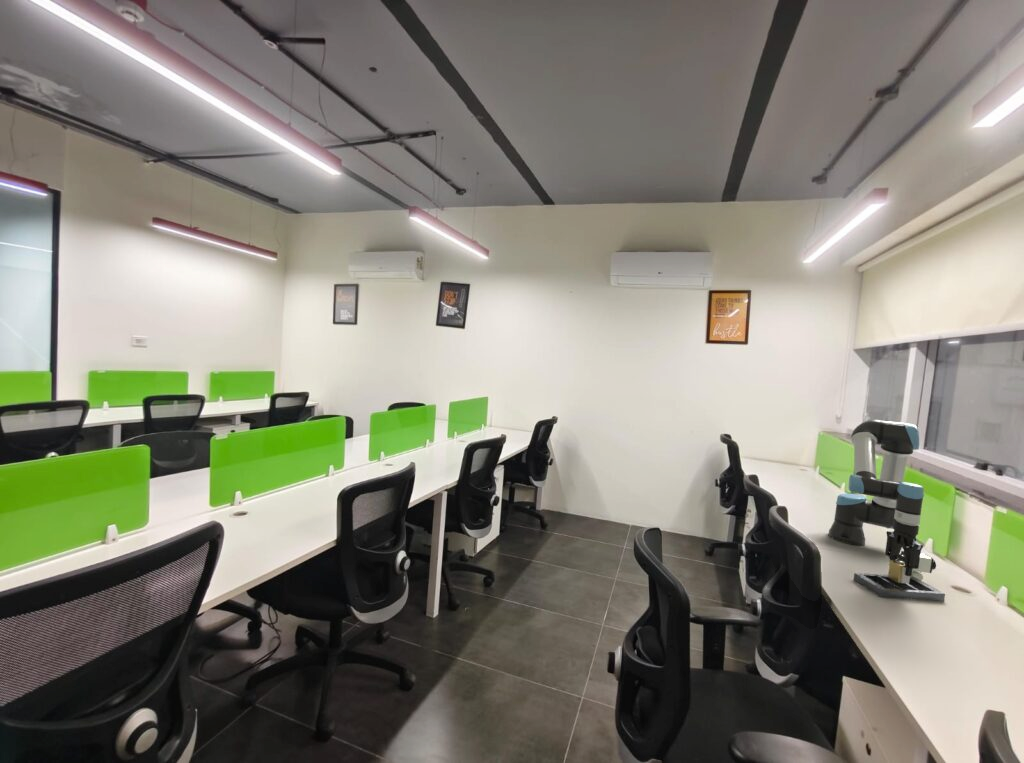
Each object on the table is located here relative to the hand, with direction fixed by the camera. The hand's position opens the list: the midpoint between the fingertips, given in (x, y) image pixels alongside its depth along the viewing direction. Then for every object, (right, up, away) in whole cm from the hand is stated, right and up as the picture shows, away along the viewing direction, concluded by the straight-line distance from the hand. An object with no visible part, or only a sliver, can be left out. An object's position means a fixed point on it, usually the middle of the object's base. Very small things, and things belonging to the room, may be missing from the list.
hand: (898, 579), depth 173 cm
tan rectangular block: (0, 0, 0) cm, 0 cm away
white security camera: (+16, -5, +11) cm, 20 cm away
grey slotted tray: (0, -5, 0) cm, 5 cm away
